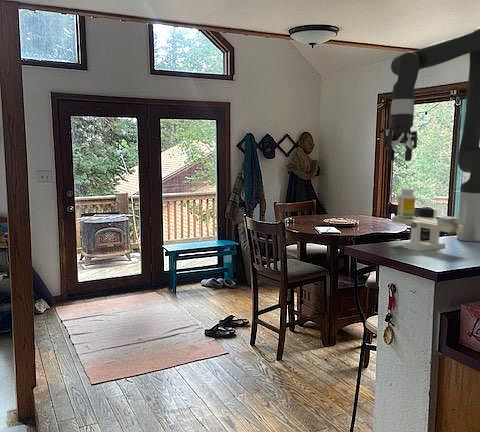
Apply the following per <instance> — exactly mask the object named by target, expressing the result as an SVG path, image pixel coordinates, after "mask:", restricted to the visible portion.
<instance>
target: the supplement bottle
mask: <svg viewBox="0 0 480 432" xmlns="http://www.w3.org/2000/svg"><path fill="white" fill-rule="evenodd" d="M400 192H401V194H399V195H398V200H397V201H398V202H397V210H396V211H397V213H396V216H399V217H405V218H412V217H415V205H416V195H414V192H415V189H414V188H410V187H409V188H408V187H407V188H406V187H403V188H401V190H400Z"/></svg>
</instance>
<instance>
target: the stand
mask: <svg viewBox="0 0 480 432" xmlns="http://www.w3.org/2000/svg"><path fill="white" fill-rule="evenodd" d="M431 220H432V221H437V220H438V219H431ZM420 232H421V222H418V221H412V223H411V225H410V239H409V241H410V242H405V243H403V249H406V248H408V249H407V250H411V251H416V252H423V250H424V251H431V250H437V249H445V248H446V243H445V242H441V241H440V232H441V231H437V230H432V229H430V240H427V241H420ZM430 249H431V250H430Z"/></svg>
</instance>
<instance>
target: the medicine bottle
mask: <svg viewBox="0 0 480 432" xmlns="http://www.w3.org/2000/svg"><path fill="white" fill-rule="evenodd" d="M417 215H418V216H417V217H418V218H421V219H426V220H431V219H436V220H438V217H437V215H438V209H437V208H436V207H431V206H430V207H429V206H428V207H427V206H421V207H420V208H419V209H418V213H417ZM427 240H430V229H427V228H422V227H421V232H420V241H427Z"/></svg>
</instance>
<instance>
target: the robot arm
mask: <svg viewBox="0 0 480 432" xmlns="http://www.w3.org/2000/svg"><path fill="white" fill-rule="evenodd" d="M468 54H469V69H468V70H469V71H468V81H467V90H466V98H465V99H466V100H465V110H464V111H465V113H464V120H463V129H462V135H461V138H460V139H461V140H460V144H459V150H458V153H457V154H458V155H457V166H458V168H459V169H460V170H461V172H463V173H468V174H469V178H468V179H467V181H465V182H462V183H461V184H460V190H459V200H458V201H459V202H458V214H457V215H458V216H457V218H459V225H461V226H463V231H459V232H456V239H457V240H458V241H460V240H461V241H465V242H480V26H478V27H476V28H475V29H474V30H473V31H472V32H469V33H465V34H463V35H460V36H457V37H452V38H450V39H446V40H441V41H438V42H436V43H432V44H429V45H427V46H423V47H422V48H419V49H417V50H414V51H406V52H404V53H402V54H399V55H397V56H396V57H394V59H392V61H391V64H390V69H391V72H392V73H393V75H395V76H397V81H396V82H395V83H394V85H393V87H392V96H391V97H392V98H391V100H392V101H391V106H390V118H389V119H390V121H389V122H390V124H389V127H390V128H391V129H385V130H384V135H383V136H384V137H383V144H382V147H383V148H384V149H386V150H387V161H389V162H394V161H395V153H396V152H395V151H396V150H395V149H396V147H397V146H398V145H399V144H401V145H402V146H404V149H405V150H404V151H405V152H404V161H405V162H411V160H412V159H413V158H412V157H413V156H412V155H413V150H414V149H417V147H418V131H417V130H411V128H413V127H414V117H415V116H414V115H415V113H414V112H415V86H416V84H417V79H418V76H419V70H422V69H426V68H431V67H435V66H438V65H441V64H443V63H446V62H449V61H452V60H454V59H457V58H460V57H462V56H465V55H468Z"/></svg>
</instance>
